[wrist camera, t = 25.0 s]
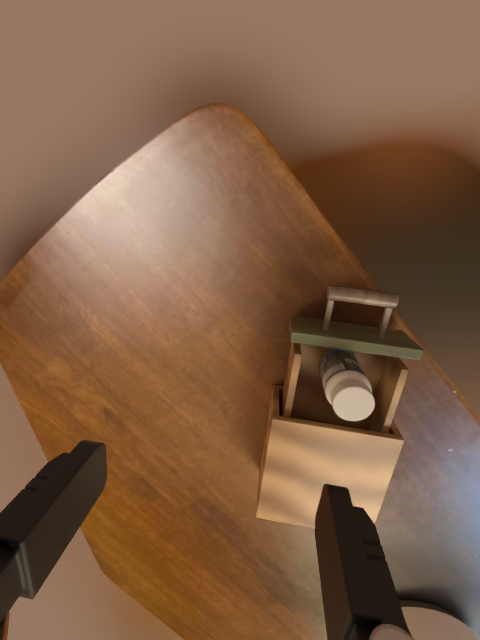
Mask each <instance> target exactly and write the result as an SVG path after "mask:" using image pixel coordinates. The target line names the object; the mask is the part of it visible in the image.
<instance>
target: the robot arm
mask: <svg viewBox="0 0 480 640" xmlns="http://www.w3.org/2000/svg"><path fill="white" fill-rule="evenodd" d="M106 479H107V463H106V447H105V444H104V443H99V442H93V441H88V440H82V441H81V442H80V443H79V444H78V445H77V446H76V447H75V448H74V449H73V450H72V451H71V452H70V454H69V453H62V454H61V455H59V456H58V457H56V458H54V459H53V460H51V461H50V462H48V463H47V464H46V465H45V466H44V467H43V469H41V470H40V472H39V473H38V474H37V475H36V477H35V478H33V479H32V480H31V481H30V482H29V483H28V484H27V485H26V487H25V489H23V490H22V491H21V492H20V493H19V494H18V495H17V496H16V497H15V498H14V499H13V500H12V501H11V502H10V503H9V504H8V505H7V507H5V509H4V510H3V511H2V512H1V513H0V640H7V635H8V625H9V610H10V609H11V607H12V606H13V604H14V603H15V602H16V600H17V599H18V597H19V596H20V597H25V598H29V599H33V598H34V597H35V595H36V594H37V592H38V591H39V589H40V587H41V586H42V584H43V583H44V581H45V580H46V578H47V577H48V575H49V574H50V572H51V570H52V569H53V567H54V566H55V564H56V563H57V561H58V560H59V558H60V556H61V555H62V553H63V552H64V550H65V549H66V547H67V546H68V544H69V542H70V541H71V539H72V538H73V536H74V535H75V533H76V532H77V530H78V528H79V527H80V525H81V524H82V522H83V521H84V519H85V518H86V516H87V515H88V513H89V512H90V510H91V508H92V507H93V505H94V504H95V502H96V501H97V499H98V498H99V496H100V494H101V493H102V491H103V489H104V486H105V483H106ZM315 539H316V547H317V555H318V564H319V572H320V580H321V589H322V597H323V605H324V614H325V622H326V630H327V639H328V640H415V639H414V638H413V637H412V635H411V633H410V631H409V629H408V626H407V624H406V621H405V618H404V615H403V612H402V608H401V605H400V602H399V599H398V596H397V593H396V590H395V587H394V583H393V580H392V577H391V574H390V571H389V568H388V565H387V562H386V561H385V555H384V552H383V549H382V546H381V545H380V540H379V537H378V533H377V530H376V527H375V524H374V523H373V521H372V520H371V518H370V517H369V516H368V514H367V513H366V511H365V510H364V508H360V507H355V506H353V504H352V500H351V497H350V493H349V490H348V488H347V487H342V486H336V485H330V484H324V486H323V489H322V493H321V497H320V501H319V504H318V508H317V512H316V517H315Z"/></svg>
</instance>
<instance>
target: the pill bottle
mask: <svg viewBox="0 0 480 640" xmlns="http://www.w3.org/2000/svg"><path fill="white" fill-rule="evenodd" d="M319 373H320V377H321V380H322V383H323V387H324V391H325V395H326V398H327V400H328V401H329V403H330V404H331V405H332V406H333V409H334V411H335V413H336V414H337V415H338V416H339V417H340V418H342V419H344V420H347V421H359V420H363V419H365V418H367V417H368V416H369V415H370V414H371V413H372V411H373V410H374V407H375V400H374V397H373V395H372V388H371V384H370V382H369V380H368V378H367V376H366V375H365V373H364V371H363V369H362V368H361V366H360V364H359V362H358V361H357V359H356V357H355V356H354V355H353V354H352V353H351V352H349V351H347V350H343V349H333V350H331V351H329V352H327V353H325V354H324V355H323V356H322V357H321V359H320V361H319Z"/></svg>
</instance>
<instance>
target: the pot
mask: <svg viewBox="0 0 480 640" xmlns="http://www.w3.org/2000/svg"><path fill="white" fill-rule="evenodd" d="M399 602H400V605H401V608H402V612H403V615H404V618H405V621H406V624H407V626H408V629H409V631H410V633H411V635H412V637H413V638H414V639H415V640H479V639H478V638H477V636H476V634H475V633H474V632H473V631H472V630H471V629H470V628H469V627H468V626H467V625H466V624H465V623H464V622H463V621H462V620H461V619H459V618H458V617H456V616H455V615H453V614H452V613H450V612H448V611H446V610H444V609H442V608H440V607H438V606H436V605H432V604H429V603H426V602H421V601H415V600H399Z"/></svg>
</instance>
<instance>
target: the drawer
mask: <svg viewBox="0 0 480 640" xmlns="http://www.w3.org/2000/svg"><path fill="white" fill-rule="evenodd" d="M326 298H327V299H328V301H327V306H326V311H325V315H324V320H321V319H313V318H306V317H298V316H291V315H290V318H289V333H290V341H291V347H290V353H289V358H288V364H287V370H286V375H285V381H284V387H283V393H282V398H281V404H280V410H279V416H283V417H289V418H296V419H302V420H308V421H314V422H320V423H326V424H333V425H339V426H345V427H351V428H357V429H363V430H370V431H376V432H382V433H389V430H390V427H391V424H392V421H393V418H394V415H395V412H396V409H397V406H398V403H399V400H400V396H401V393H402V390H403V387H404V384H405V381H406V378H407V375H408V372H409V369H408V368H407V367H406V366H405V365H404V364H403V363H402V361H401V360H400V359H399V358H406V359H413V360H421V358H422V356H423V353H424V350H423V349H422V348H421V347H420V346H419V345H418V344H416V343H415V342H414V341H413V340H412V339H411V338H410V337H409V336H407V335H406V334H405V333H404V332H403V331H402V330H395V329H387V326H388V322H389V319H390V315H391V312H392V308H395V307H396V306H397V304H398V301H399V296H398V295H397V294H395V293H386V292H379V291H371V290H363V289H355V288H347V287H339V286H331V285H329V286H328V288H327V293H326ZM334 300H336V301H344V302H352V303H359V304H367V305H375V306H382V307H385V309H384V312H383V316H382V319H381V323H380V327H372V326H365V325H358V324H350V323H343V322H335V321H330V318H331V314H332V309H333V305H334ZM333 349H343V350H347V351H349V352H351V353H352V354H353V355H354V356H355V357H356V359H357V361H358V362H359V364H360V366H361V368H362V369H363V371H364V373H365V375H366V376H367V378H368V380H369V382H370V384H371V388H372V395H373V397H374V400H375V407H374V410H373V411H372V413H371V414H370V415H369V416H368V417H367V418H365V419H363V420H359V421H347V420H344V419H342V418H340V417H339V416H338V415H337V414H336V413H335V411H334V409H333V406H332V405H331V404H330V403H329V401H328V400H327V398H326V395H325V391H324V387H323V383H322V380H321V377H320V373H319V361H320V359H321V357H322V356H323V355H324V354H325V353H327V352H329V351H331V350H333ZM398 357H399V358H398Z"/></svg>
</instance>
